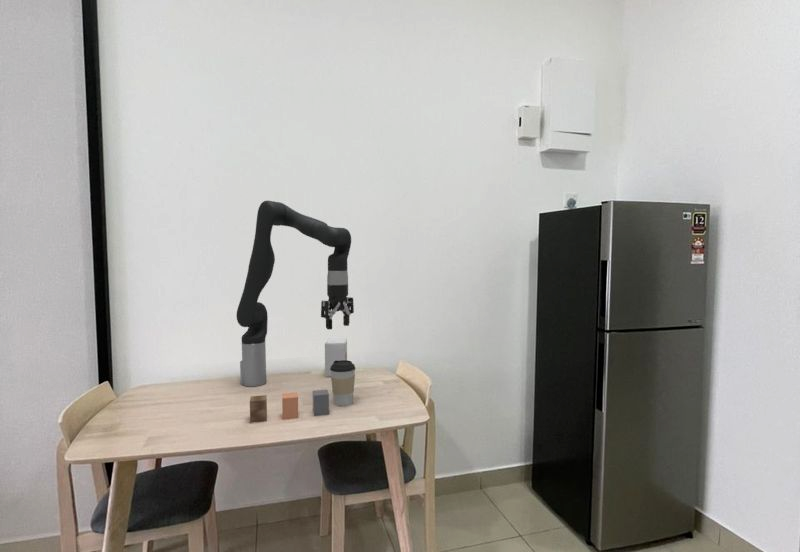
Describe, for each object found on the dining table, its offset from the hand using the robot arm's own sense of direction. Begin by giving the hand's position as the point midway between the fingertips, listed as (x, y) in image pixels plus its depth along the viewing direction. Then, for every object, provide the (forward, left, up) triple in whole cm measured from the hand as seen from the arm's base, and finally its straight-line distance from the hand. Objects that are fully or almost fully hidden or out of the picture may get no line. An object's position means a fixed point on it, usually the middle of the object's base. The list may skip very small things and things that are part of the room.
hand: (337, 327), depth 157 cm
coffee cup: (+3, -3, -27) cm, 27 cm away
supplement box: (-14, +28, -27) cm, 42 cm away
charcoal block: (-1, -13, -27) cm, 30 cm away
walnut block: (-18, -24, -27) cm, 40 cm away
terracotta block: (-9, -19, -27) cm, 34 cm away
